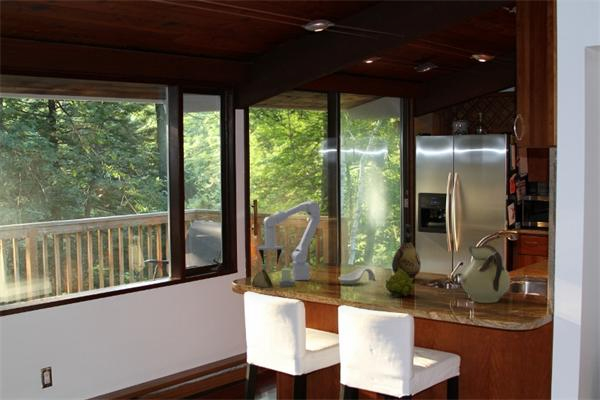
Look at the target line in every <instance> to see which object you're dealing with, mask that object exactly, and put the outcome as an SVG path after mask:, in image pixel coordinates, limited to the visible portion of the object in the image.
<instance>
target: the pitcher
mask: <svg viewBox="0 0 600 400" xmlns="http://www.w3.org/2000/svg"><path fill="white" fill-rule="evenodd" d="M468 250H469V253H470V254H471V256H472V260H471V261H470V263H469V264H468V265H467V266H466V267H465V268H464V269H463V270H462V273H461V275H460V283H461V286H462V288H463V290H464V291H465V293H467V295H469V297H470V299H471V301H472V302H475V303H483V304H494V303H497V302H499V301H500V299H501V298H502V297H503V295H505V294H506V292H507V291H508V290H509V287H510V284H511V276H510V274H509V272H508V270H507V269H506V268H505V267H504V266H503V257H502V255H501V253H500V252H499V251H497V249H496V248H495V247H494V246H492V245H490V244H481V245H477V246H473V245H469V246H468Z"/></svg>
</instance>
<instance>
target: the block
mask: <svg viewBox="0 0 600 400" xmlns="http://www.w3.org/2000/svg"><path fill="white" fill-rule="evenodd" d="M281 279H282V281H291V279H292V277H291V268H289V267H288V268H287V267H285V268H281Z"/></svg>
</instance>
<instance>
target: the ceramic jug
mask: <svg viewBox="0 0 600 400" xmlns="http://www.w3.org/2000/svg"><path fill="white" fill-rule="evenodd" d="M413 233H414V229H413V228H411V225H410V224H405V225H404V226H403V241H402V244H401V245H400V246H399V247H398V249H397V250H396V252H395V253H394V255H393V259H392V263H391V268H392V270H393V273H394V274H395V273H396V272H397V271H398V268H401V269H402V270H403V271H405V272H406V275H408V277H409V278H413V281H414V280H415V278H416V276H417V275H418V274H419V273H420V270H421V258H420V256H419V254H418V252H417V249H416V248H415V246H414V245H413V243H412V241H411V236H412V235H413Z"/></svg>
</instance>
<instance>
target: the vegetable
mask: <svg viewBox="0 0 600 400" xmlns="http://www.w3.org/2000/svg"><path fill="white" fill-rule="evenodd" d="M413 281H414V280H413V278H409V277H408V275H406V272H405V271H403V270H402V269H401V268H398V271H397V272H396V273H394V274H393V275H392V274H391V275H390V276H389V278H388V280H386V281H385V284H384V285H385V288H386V290H387V291H388V292H389V293H390V294H391V298H395V297H396V298H401V297H402V298H405V297H406V296H409V295H410V294H411V293H412V292H413V291H414V290H415V288H416V287H415V286H416V284H415V283H413Z"/></svg>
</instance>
